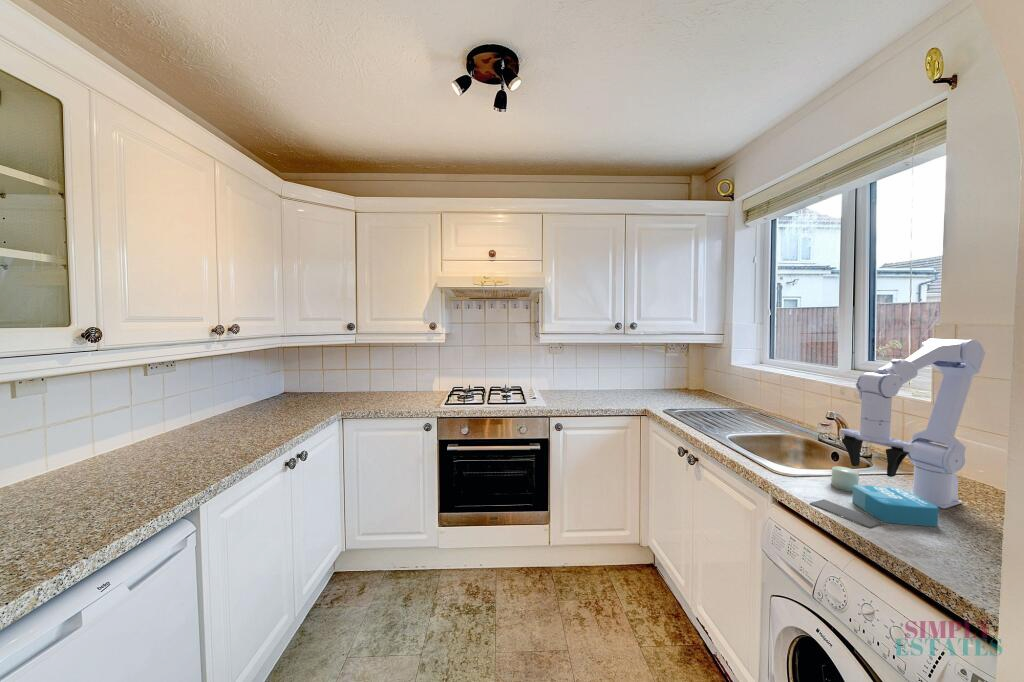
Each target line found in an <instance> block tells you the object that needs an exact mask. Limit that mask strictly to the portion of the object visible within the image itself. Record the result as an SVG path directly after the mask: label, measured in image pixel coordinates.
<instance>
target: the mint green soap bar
mask: <svg viewBox="0 0 1024 682" xmlns="http://www.w3.org/2000/svg"><path fill="white" fill-rule="evenodd" d="M859 480H860V472H859V471H858V470H855V469H853V468H851V467H850V468H849V467H845V466H840V465H839V466H838V465H837V466H832V468H831V482H830V483H831V486H832V485H833V486H832V487H833V488H835V489H838V488H839V490H841V489H842V491H847V492H853V486H854V485H859Z"/></svg>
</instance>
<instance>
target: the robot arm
mask: <svg viewBox="0 0 1024 682" xmlns="http://www.w3.org/2000/svg"><path fill="white" fill-rule="evenodd" d="M983 347H984V346H983V344H981V342H980V341H978V339H949V338H948V339H945V338H944V339H943V338H935V337H934V338H933V337H931V338H928V339H927V340H925V341H923V342H921V344H920V348H919V349H918V350H917V351H915V352H914V353H913V354H911V355H910V356H908V357H907V358H905V359H902V358H898V359H897V358H893V359H892V360H890V362H889V363H887V364H886V365H884V366H882V367H879V368H877V369H876V370H875V371H873V372H868V371H867V372H865V373H863V374H860V375H859V376H858V379H856V380H857V382H855V388H856V390H857V392H858V398H859V400H860V401H861V402H860V403H861V405H860V421H859V423H860V424H859V430H855V429H848V428H840V430H839V436H840V437H842V439H841V443H842V444H843V445H844V447H845V449H846V451H847V454H848V456H849V460H850V465H851V466H853V467H859V466H860V464H861V463H860V462H861V449H862V446H863V445H862V444H863V442H867V443H871V444H874V445H875V444H876V445H879V446H883V447H888V448H887V449H885V454H886V459H887V460H886V462H887V464H886V465H887V466H886V467H887V468H886V476H887V477H890V478H893V477H896V474H897V471H898V468H899V467H900V466H901V463H902V462H903V460H904V459H905V458H906V457H907V459H908V460H910V464H911V465H913V481H912V482H913V483H912V492H911V493H912V494H914V495H916V496H918V497H920V498H922V499H924V500H926V501H928V502H930V503H931V504H933V505H935V506H937V507H938V508H941V509H948V508H950V507H953V506H957V505H959V504H960V505H961V504H962V503H963V501H962V500H960V499H958V495H959V494H958V493H959V477H958V476H959V475H957V473H958V472H959V471H961V470H962V469H963V468H964V466H965V463H966V457H965V456H966V455H965V454H966V453H965V452H966V449H967V448H966V446H965V445H964V444H963V443H962V442H961V441H960V440H959V439H958V438H957V437H955V435H956V431H957V429H958V426H959V422H960V419H961V416H962V413H963V410H964V407H965V403H966V401H967V399H968V395H969V391H970V389H971V385H972V384H973V383H972V382H973V379H974V376H975V375H977V374H979V373H980V371H981V370H980V369H981V368H982V365H983V361H984V358H985V355H986V352H985V350H984V348H983ZM929 365H931V366H932V367H933V369H934V370H937V371H939V372H941V374H942V378H941V383H940V384H939V389H938V392H937V394H936V398H935V401H934V404H933V407H932V411H931V413H930V416H929V420H928V422H927V425H926V429H924V430H921V431H918V432H914V433H913V435H912V437H911V438H910V440H909V442H907V441H904V440H901V439H897V438H894V437H891V422H892V421H891V417H892V402H893V401H892V400H893V397H896V396H897V394H898V393H899V392H900V391H899V390H900V389H902V387H903V385H904V384H906V383H908V382H910V381H911V380H913V379H915V378H916V377H917V376H918V371H919V370H921V369H924V368H925V367H926V368H927V366H928V367H929Z"/></svg>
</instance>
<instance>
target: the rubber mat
mask: <svg viewBox="0 0 1024 682" xmlns="http://www.w3.org/2000/svg"><path fill="white" fill-rule="evenodd" d="M809 505H811V506H813V507H816V508H819V509H820V510H821V509H822V510H823V511H825V512H828V511H829V512H828V513H831V512H832V513H831V514H833V513H834V514H833V515H836V514H837V515H836V516H838V515H840V516H843V517H845V518H847V519H846V520H848V519H849V520H848V521H850V520H851V521H850V522H853V521H854V522H853V523H855V522H857V523H856V524H858V525H860V524H861V525H860V526H863V525H864V526H863V527H865V526H866V528H868V529H872V528H873V527H874V526H875V527H877V526H881V525H884V524H885V522H883V521H881V520H879V519H877V518H875V517H872V516H869V515H866V514H864V513H861V512H858V511H856V510H853V509H851V508H848V507H846V506H843V505H840V504H837V503H835V502H832V501H829V500H828V499H824V498H823V499H820V500H816V501H812V502H809ZM840 516H839V517H840ZM843 517H842V518H843ZM845 518H844V519H845ZM871 527H872V528H871ZM875 527H874V528H875Z"/></svg>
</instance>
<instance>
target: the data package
mask: <svg viewBox="0 0 1024 682" xmlns="http://www.w3.org/2000/svg"><path fill="white" fill-rule="evenodd" d="M851 501H852V503H853V504H855V506H856V505H857V506H858V507H859V508H861V509H862V510H864V511H865V512H867V513H868V514H870V515H871V516H873V518H875V519H877V520H880V521H882V522H884V523H888V524H895V525H896V524H897V525H910V526H911V525H912V526H921V527H922V526H923V527H935V528H936V527H938V523H939V522H938V521H939V508H940V507H937V506H935V505H933V504H931V503H930V502H928V501H926V500H924V499H922V498H920V497H918V496H916V495H914V494H912V492H910V491H908V490H906V489H903V488H900V487H891V486H880V485H879V486H878V485H877V486H875V485H862V484H858V485H854V486H853V491H852V500H851Z"/></svg>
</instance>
